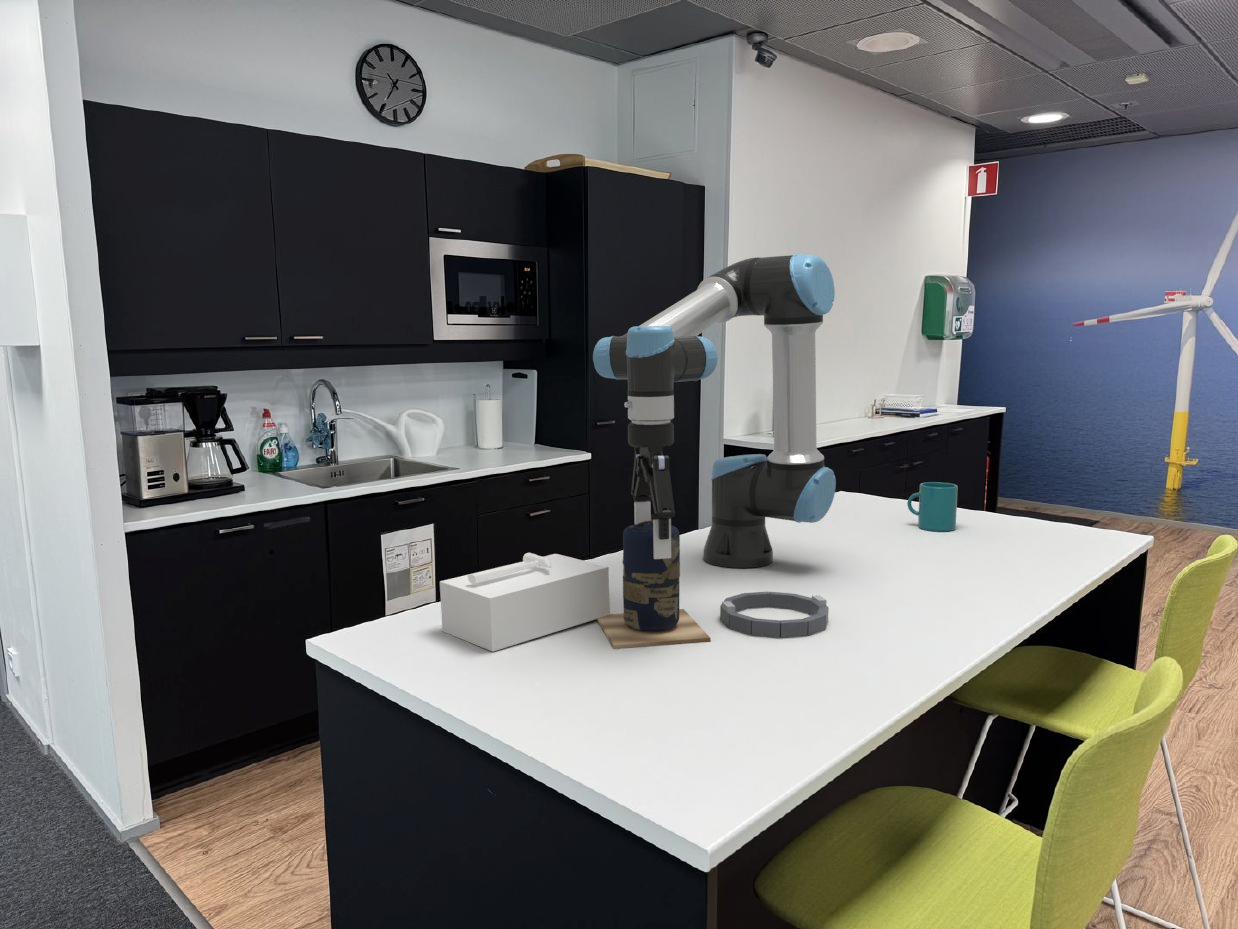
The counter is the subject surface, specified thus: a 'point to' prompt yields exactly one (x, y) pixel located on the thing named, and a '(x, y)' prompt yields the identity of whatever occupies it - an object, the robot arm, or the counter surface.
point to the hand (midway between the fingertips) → (652, 548)
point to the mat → (651, 632)
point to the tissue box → (524, 600)
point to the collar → (775, 627)
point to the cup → (936, 506)
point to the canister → (650, 580)
